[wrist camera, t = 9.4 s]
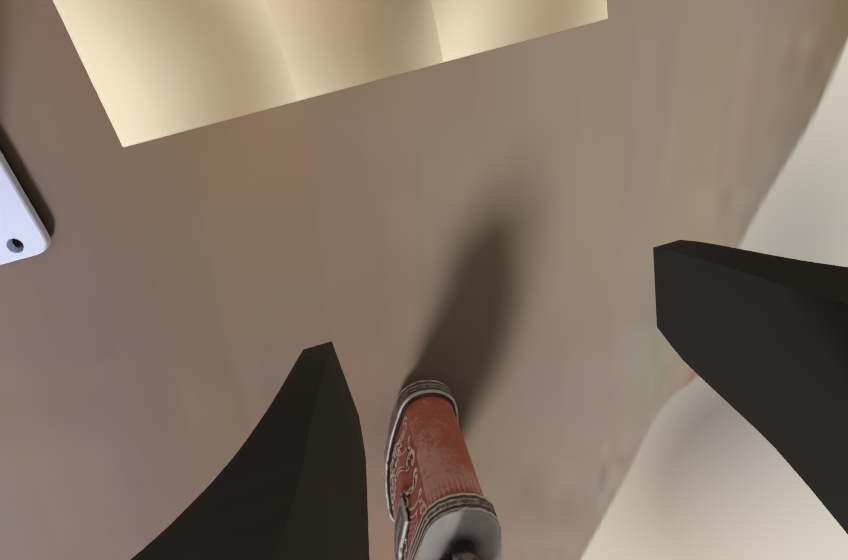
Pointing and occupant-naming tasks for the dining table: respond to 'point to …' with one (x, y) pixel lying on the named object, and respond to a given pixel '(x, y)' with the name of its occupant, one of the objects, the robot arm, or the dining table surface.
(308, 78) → the holder
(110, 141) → the dining table surface
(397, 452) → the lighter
